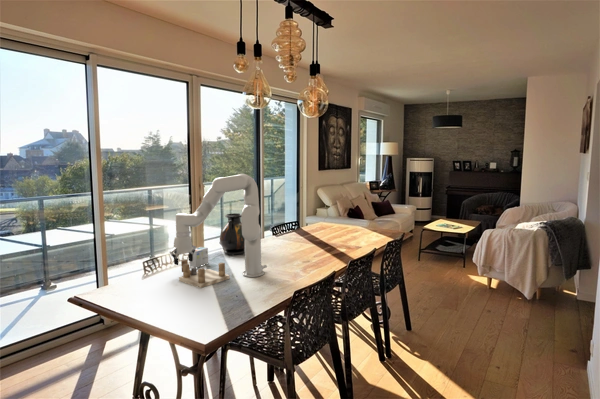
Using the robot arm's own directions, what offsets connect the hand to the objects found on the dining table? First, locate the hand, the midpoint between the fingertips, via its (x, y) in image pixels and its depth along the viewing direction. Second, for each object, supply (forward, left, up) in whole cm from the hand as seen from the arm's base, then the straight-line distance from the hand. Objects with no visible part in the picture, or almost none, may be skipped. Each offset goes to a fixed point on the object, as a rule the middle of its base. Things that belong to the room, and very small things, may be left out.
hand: (183, 262), depth 227 cm
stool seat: (-2, +16, -8) cm, 18 cm away
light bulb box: (-18, -11, -8) cm, 23 cm away
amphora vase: (-53, -16, -8) cm, 56 cm away
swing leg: (0, +5, -5) cm, 7 cm away
